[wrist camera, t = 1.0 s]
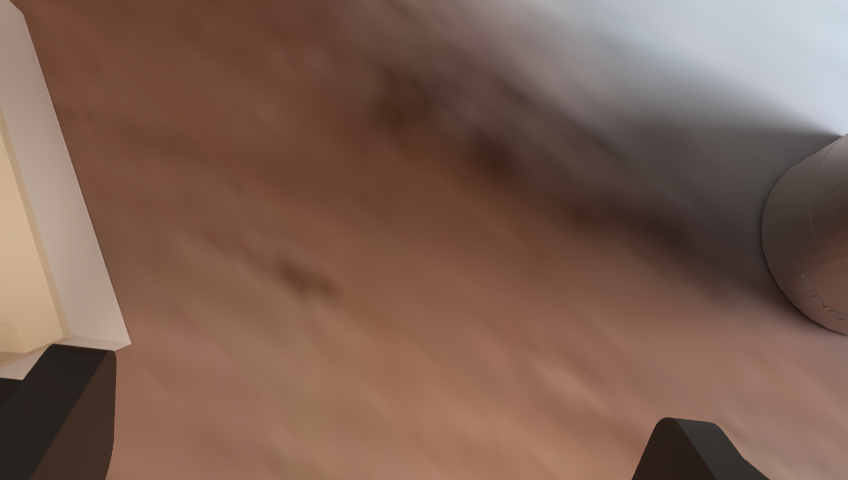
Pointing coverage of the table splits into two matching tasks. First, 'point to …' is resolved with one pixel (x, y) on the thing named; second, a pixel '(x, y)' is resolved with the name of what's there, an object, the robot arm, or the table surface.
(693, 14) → the table surface
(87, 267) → the mailer box
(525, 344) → the table surface
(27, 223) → the lid
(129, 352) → the table surface
